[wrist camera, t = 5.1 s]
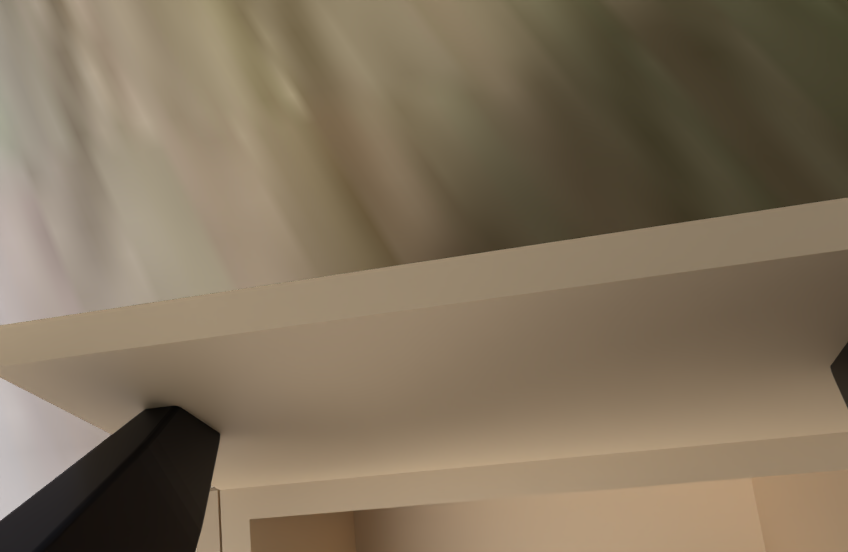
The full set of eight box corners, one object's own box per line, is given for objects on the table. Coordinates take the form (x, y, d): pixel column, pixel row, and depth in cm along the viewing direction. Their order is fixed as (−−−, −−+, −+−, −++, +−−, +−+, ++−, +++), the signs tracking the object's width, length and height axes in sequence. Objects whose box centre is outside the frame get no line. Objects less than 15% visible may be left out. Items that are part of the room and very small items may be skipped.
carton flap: (1118, 211, 6) (1074, 155, 6) (-17, 368, 8) (1, 318, 8) (881, 428, 11) (864, 389, 11) (219, 490, 13) (224, 454, 13)
